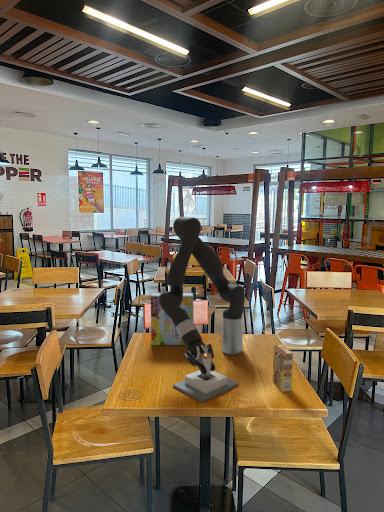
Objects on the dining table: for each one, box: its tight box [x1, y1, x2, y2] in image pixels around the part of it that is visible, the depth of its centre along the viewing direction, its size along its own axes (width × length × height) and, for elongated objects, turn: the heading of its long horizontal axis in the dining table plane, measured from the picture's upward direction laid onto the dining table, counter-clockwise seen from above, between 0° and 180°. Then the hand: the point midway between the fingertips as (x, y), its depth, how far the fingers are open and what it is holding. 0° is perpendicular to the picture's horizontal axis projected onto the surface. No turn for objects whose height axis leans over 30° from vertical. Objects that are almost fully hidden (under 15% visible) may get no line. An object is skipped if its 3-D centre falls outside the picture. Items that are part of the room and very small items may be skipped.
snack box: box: [150, 292, 195, 346], centre depth 190 cm, size 22×9×26 cm, turn 89°
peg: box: [201, 352, 211, 381], centre depth 144 cm, size 4×4×11 cm
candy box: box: [272, 344, 294, 393], centre depth 144 cm, size 9×4×15 cm, turn 13°
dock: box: [172, 369, 239, 404], centre depth 144 cm, size 20×16×4 cm
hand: (209, 371), depth 142 cm, fingers closed on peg, 4 cm apart
